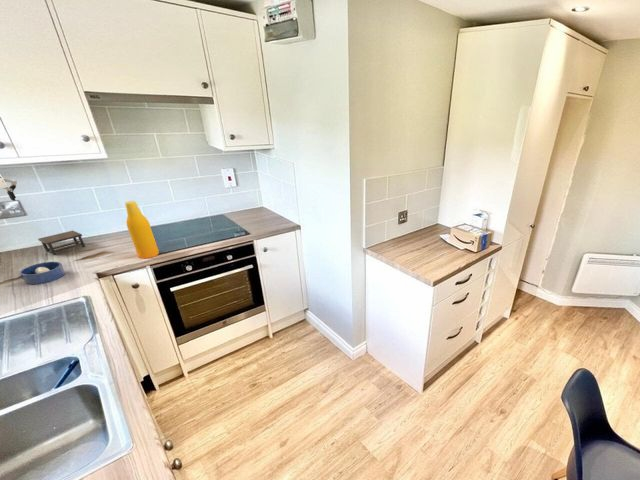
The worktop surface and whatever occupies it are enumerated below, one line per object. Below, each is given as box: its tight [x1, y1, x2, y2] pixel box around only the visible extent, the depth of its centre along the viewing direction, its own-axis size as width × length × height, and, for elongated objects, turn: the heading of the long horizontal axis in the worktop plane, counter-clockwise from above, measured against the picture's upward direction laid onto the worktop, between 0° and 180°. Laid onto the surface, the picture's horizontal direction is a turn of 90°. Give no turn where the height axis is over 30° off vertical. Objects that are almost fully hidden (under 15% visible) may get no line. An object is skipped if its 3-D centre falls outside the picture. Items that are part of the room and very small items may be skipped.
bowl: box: [19, 261, 66, 285], centre depth 147 cm, size 13×13×5 cm
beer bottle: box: [124, 200, 160, 259], centre depth 165 cm, size 9×9×29 cm
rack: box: [37, 230, 86, 256], centre depth 169 cm, size 14×10×9 cm
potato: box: [35, 267, 50, 274], centre depth 147 cm, size 4×7×4 cm, turn 62°
